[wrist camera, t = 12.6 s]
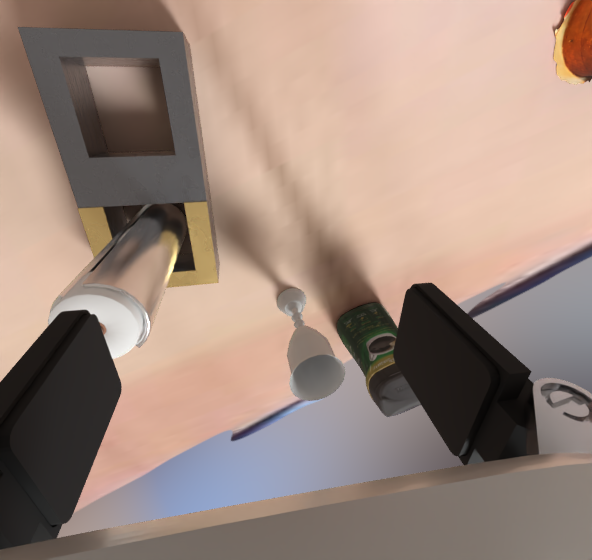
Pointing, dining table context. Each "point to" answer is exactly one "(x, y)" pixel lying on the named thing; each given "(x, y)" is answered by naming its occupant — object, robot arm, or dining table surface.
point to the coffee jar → (377, 356)
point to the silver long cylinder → (128, 277)
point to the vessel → (575, 44)
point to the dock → (127, 165)
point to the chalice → (309, 353)
